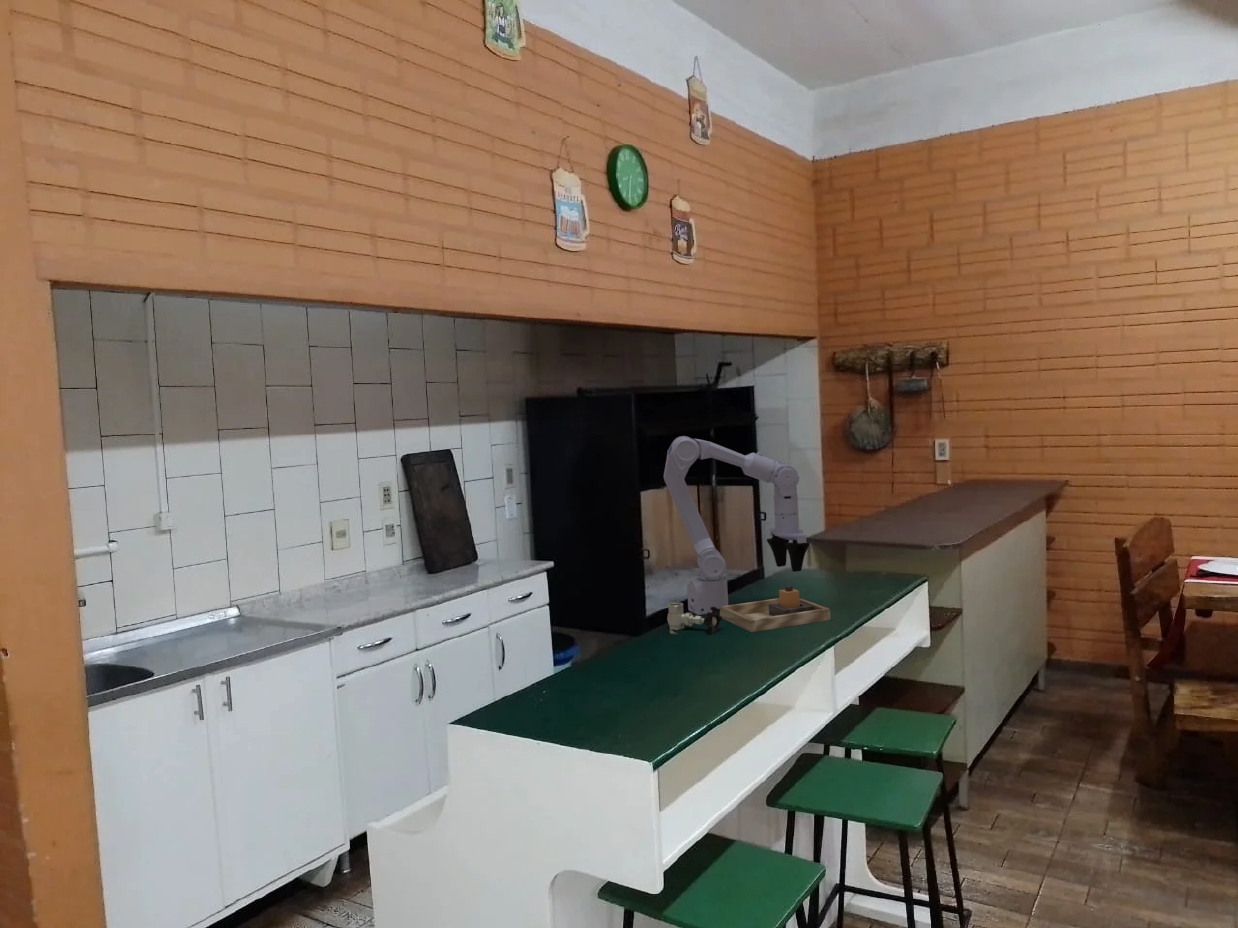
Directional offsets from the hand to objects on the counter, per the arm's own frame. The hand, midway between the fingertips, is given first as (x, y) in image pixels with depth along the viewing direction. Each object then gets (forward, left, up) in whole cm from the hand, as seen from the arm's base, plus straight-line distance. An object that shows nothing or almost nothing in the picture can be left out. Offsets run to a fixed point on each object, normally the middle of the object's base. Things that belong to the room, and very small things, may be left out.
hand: (789, 568), depth 227 cm
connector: (-6, -10, -9) cm, 15 cm away
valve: (-30, -9, -10) cm, 33 cm away
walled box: (-10, -10, -10) cm, 17 cm away
